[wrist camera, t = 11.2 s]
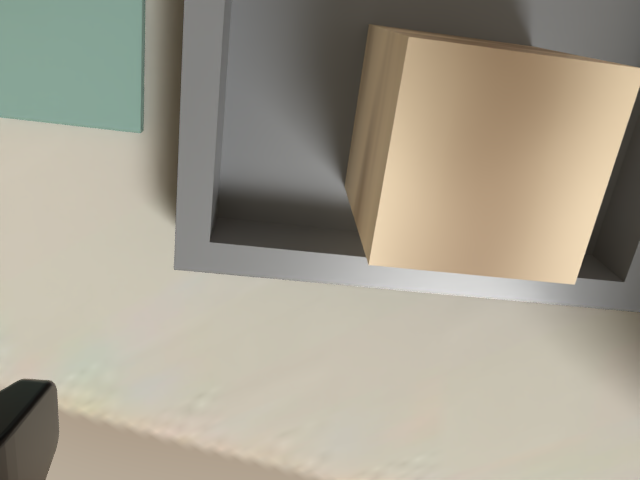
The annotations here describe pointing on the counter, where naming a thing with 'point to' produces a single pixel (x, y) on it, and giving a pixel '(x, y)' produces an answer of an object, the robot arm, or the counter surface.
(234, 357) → the counter surface
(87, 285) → the counter surface
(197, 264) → the charcoal bin
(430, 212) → the plain block
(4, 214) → the counter surface
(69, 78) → the green mat
